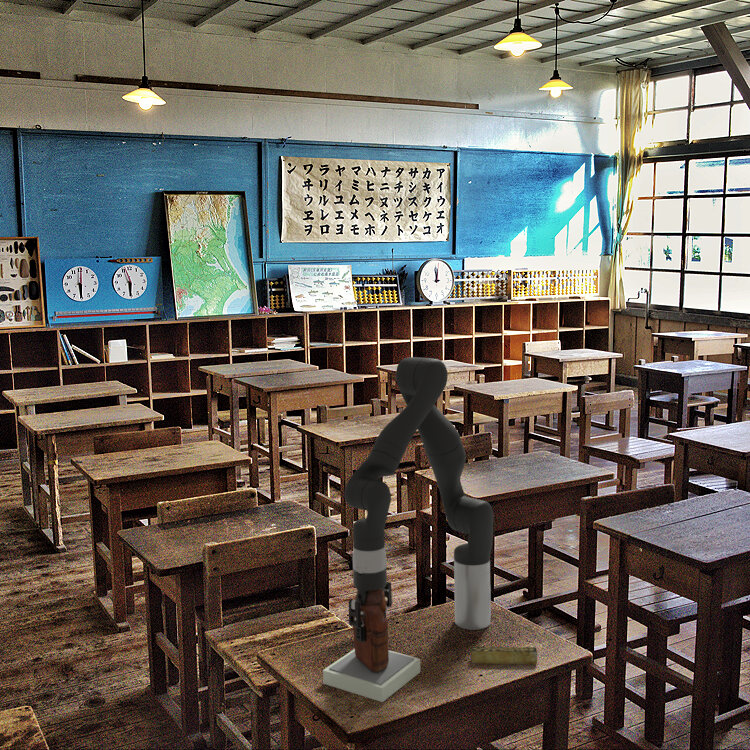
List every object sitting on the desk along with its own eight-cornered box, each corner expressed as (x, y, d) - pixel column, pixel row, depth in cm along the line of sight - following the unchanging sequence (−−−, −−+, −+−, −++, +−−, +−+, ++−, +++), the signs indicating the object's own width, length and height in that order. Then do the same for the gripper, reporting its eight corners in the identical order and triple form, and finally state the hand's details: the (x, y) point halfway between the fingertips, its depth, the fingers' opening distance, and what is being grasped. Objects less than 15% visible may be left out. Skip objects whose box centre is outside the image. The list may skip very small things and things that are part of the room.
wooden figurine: (396, 668, 196) (396, 591, 193) (371, 674, 193) (370, 597, 190) (372, 647, 206) (371, 574, 204) (348, 653, 203) (346, 579, 201)
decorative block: (536, 660, 207) (536, 646, 206) (537, 665, 204) (537, 651, 204) (471, 659, 208) (470, 645, 208) (471, 664, 206) (471, 650, 205)
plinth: (363, 655, 211) (362, 642, 210) (420, 671, 202) (420, 657, 201) (323, 683, 197) (322, 668, 197) (382, 702, 189) (382, 686, 188)
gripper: (373, 553, 204) (375, 619, 206) (337, 572, 192) (339, 642, 194) (400, 558, 200) (402, 626, 202) (365, 579, 188) (367, 650, 190)
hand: (371, 634), depth 198 cm, fingers closed on wooden figurine, 7 cm apart
